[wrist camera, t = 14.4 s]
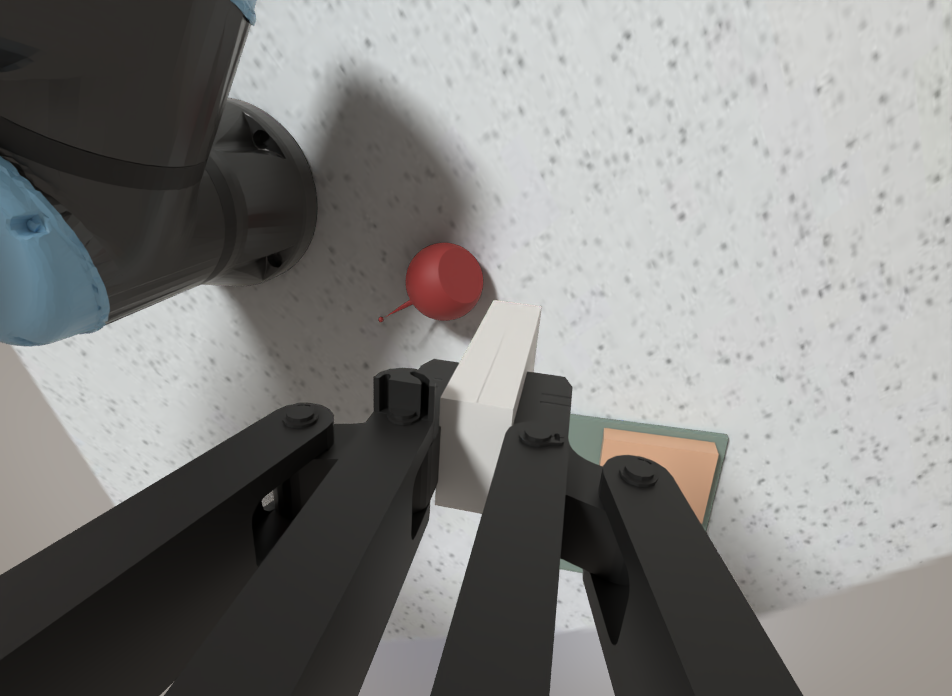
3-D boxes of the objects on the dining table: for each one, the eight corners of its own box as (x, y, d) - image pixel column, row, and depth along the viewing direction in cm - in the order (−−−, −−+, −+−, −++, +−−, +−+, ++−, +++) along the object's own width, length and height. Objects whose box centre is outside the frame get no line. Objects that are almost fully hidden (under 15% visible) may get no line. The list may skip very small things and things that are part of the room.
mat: (503, 554, 56) (502, 558, 55) (513, 406, 49) (512, 409, 49) (690, 587, 53) (690, 592, 52) (727, 434, 46) (728, 437, 46)
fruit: (425, 245, 48) (356, 285, 43) (466, 224, 43) (395, 267, 38) (459, 306, 49) (396, 352, 44) (502, 292, 45) (438, 342, 40)
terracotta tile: (594, 507, 48) (701, 524, 47) (604, 438, 46) (718, 454, 44) (594, 493, 50) (698, 509, 49) (604, 426, 48) (714, 441, 46)
